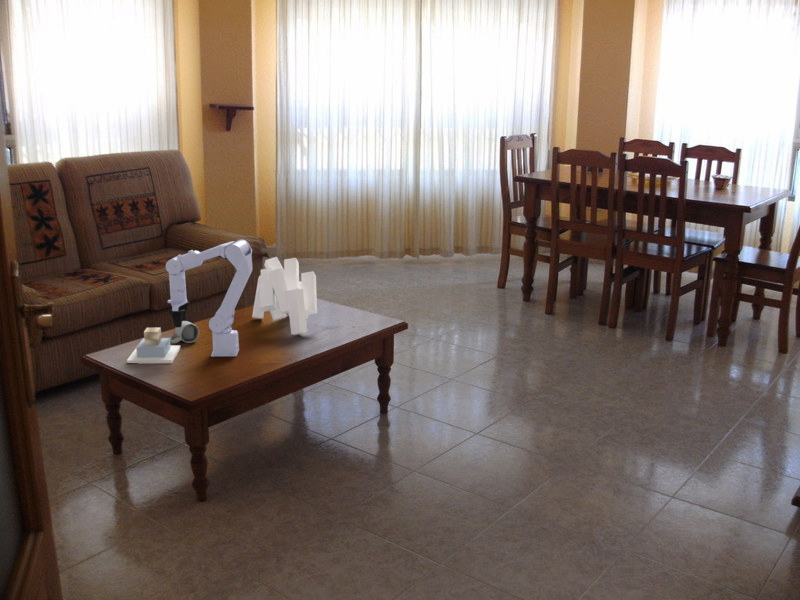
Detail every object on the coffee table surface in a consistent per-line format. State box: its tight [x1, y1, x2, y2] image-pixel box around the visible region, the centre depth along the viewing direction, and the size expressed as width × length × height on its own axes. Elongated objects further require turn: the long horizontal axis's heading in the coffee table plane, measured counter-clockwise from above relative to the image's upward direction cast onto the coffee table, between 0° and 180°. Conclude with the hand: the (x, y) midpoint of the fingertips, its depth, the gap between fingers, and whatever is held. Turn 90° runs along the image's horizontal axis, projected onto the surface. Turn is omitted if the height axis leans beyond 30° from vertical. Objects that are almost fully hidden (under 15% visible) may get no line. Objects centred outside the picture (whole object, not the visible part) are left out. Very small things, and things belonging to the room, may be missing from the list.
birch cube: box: [143, 327, 162, 345], centre depth 307 cm, size 5×5×5 cm
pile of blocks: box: [251, 256, 318, 335], centre depth 346 cm, size 35×30×35 cm
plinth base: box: [126, 337, 181, 364], centre depth 308 cm, size 16×16×5 cm
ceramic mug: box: [169, 320, 200, 345], centre depth 324 cm, size 11×8×8 cm
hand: (180, 324), depth 312 cm, fingers open, 7 cm apart
